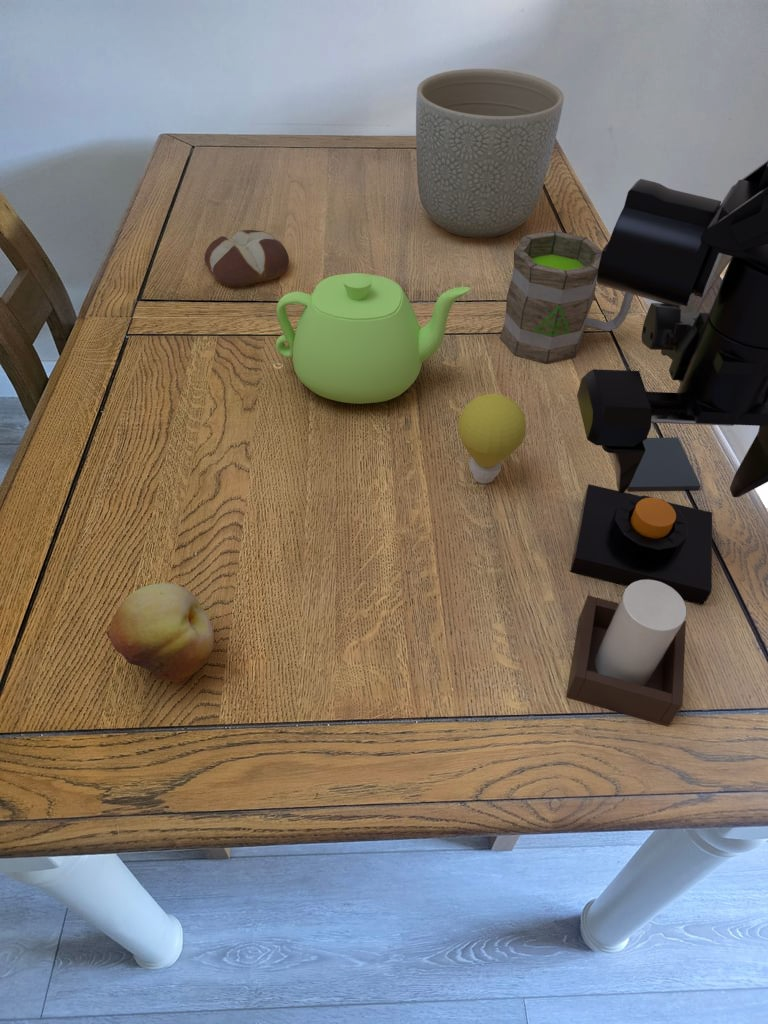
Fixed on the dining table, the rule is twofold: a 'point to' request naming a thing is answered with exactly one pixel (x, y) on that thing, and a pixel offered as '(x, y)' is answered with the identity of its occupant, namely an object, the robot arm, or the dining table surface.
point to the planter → (484, 147)
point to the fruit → (163, 631)
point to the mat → (664, 467)
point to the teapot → (360, 337)
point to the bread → (246, 258)
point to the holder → (618, 695)
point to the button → (653, 518)
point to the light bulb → (490, 433)
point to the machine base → (643, 545)
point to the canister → (640, 631)
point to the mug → (553, 297)
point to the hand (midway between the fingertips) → (676, 491)
